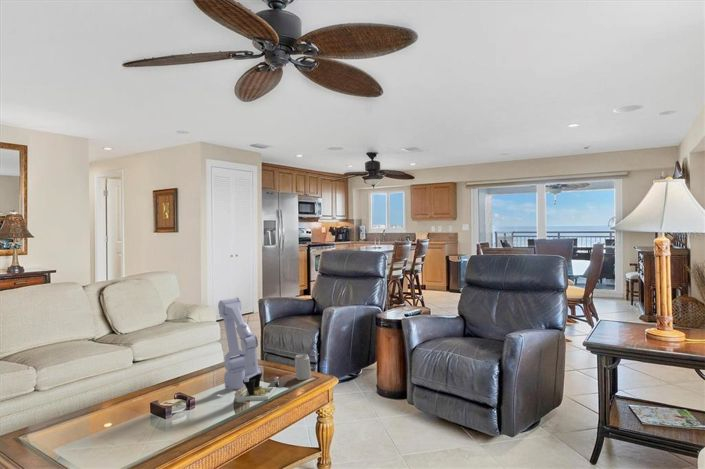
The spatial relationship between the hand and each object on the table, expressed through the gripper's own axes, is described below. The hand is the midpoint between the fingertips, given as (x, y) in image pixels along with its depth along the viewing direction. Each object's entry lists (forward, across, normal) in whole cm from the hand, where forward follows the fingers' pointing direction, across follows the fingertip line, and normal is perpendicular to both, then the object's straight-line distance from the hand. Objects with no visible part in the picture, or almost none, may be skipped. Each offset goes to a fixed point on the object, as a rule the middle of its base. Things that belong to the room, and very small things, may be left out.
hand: (254, 392), depth 195 cm
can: (+2, +22, -17) cm, 28 cm away
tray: (+2, 0, -1) cm, 3 cm away
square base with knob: (+2, +13, -6) cm, 15 cm away
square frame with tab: (+1, 0, -1) cm, 2 cm away
